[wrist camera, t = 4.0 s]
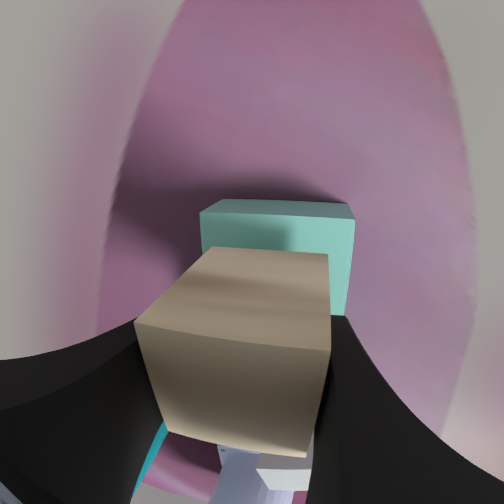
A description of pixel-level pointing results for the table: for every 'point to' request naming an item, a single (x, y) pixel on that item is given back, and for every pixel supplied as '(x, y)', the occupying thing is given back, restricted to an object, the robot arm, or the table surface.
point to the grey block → (286, 470)
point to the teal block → (286, 233)
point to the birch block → (242, 348)
